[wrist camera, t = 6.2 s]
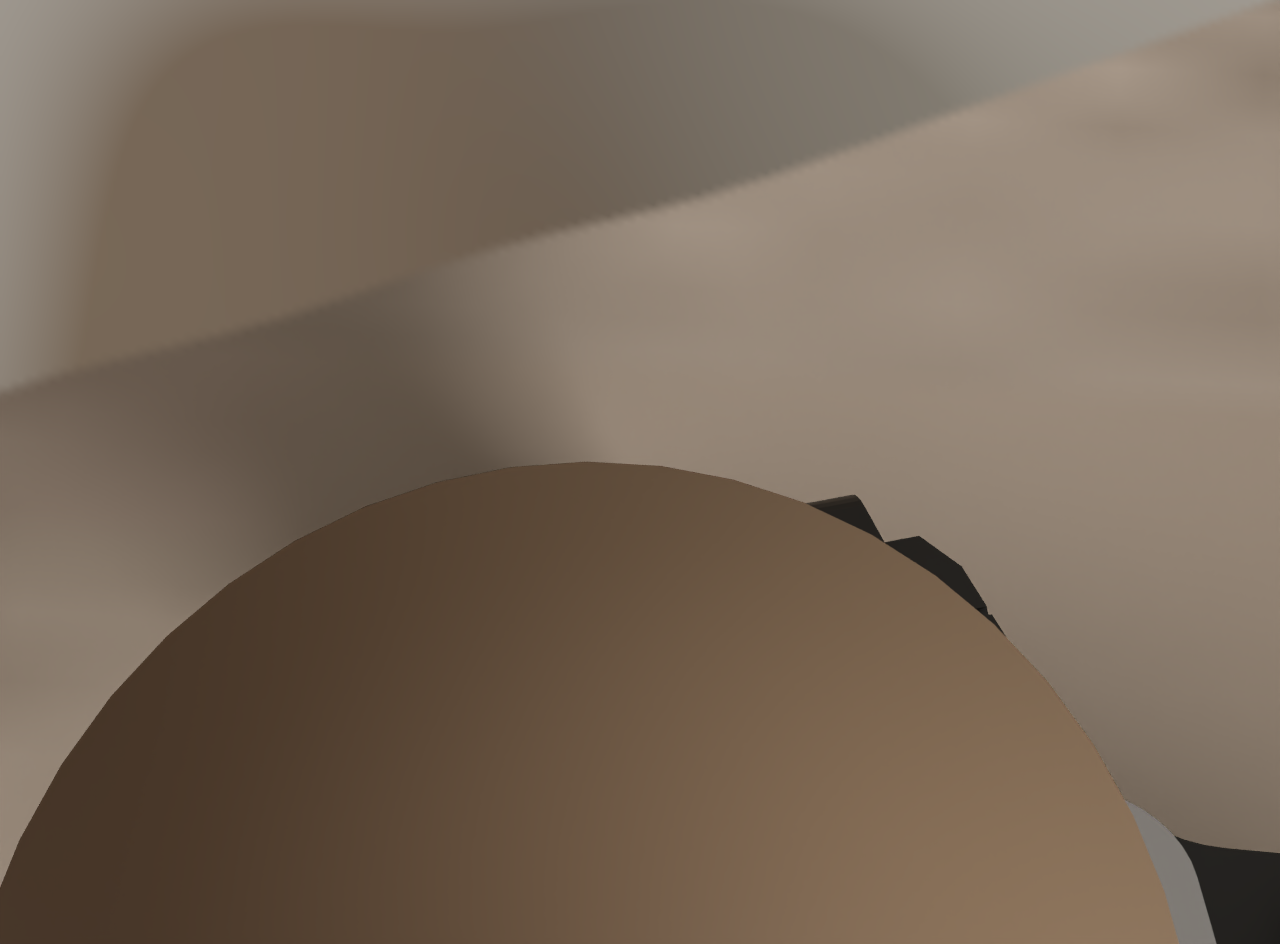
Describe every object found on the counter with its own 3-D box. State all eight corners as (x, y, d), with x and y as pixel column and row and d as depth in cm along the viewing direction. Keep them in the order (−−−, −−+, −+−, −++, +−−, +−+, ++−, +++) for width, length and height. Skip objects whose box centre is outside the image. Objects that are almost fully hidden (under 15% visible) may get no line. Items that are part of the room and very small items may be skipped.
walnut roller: (648, 547, 16) (784, 263, 5) (809, 816, 16) (1446, 1295, 4) (380, 706, 16) (-263, 859, 4) (536, 991, 15) (329, 2158, 3)
